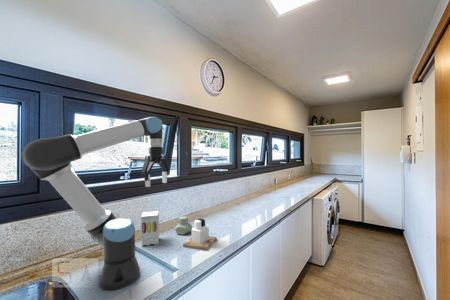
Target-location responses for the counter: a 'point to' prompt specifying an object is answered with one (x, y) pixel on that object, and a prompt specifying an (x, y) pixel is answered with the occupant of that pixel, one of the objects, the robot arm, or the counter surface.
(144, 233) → the supplement box
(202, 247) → the trivet
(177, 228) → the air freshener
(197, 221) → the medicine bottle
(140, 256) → the counter surface
